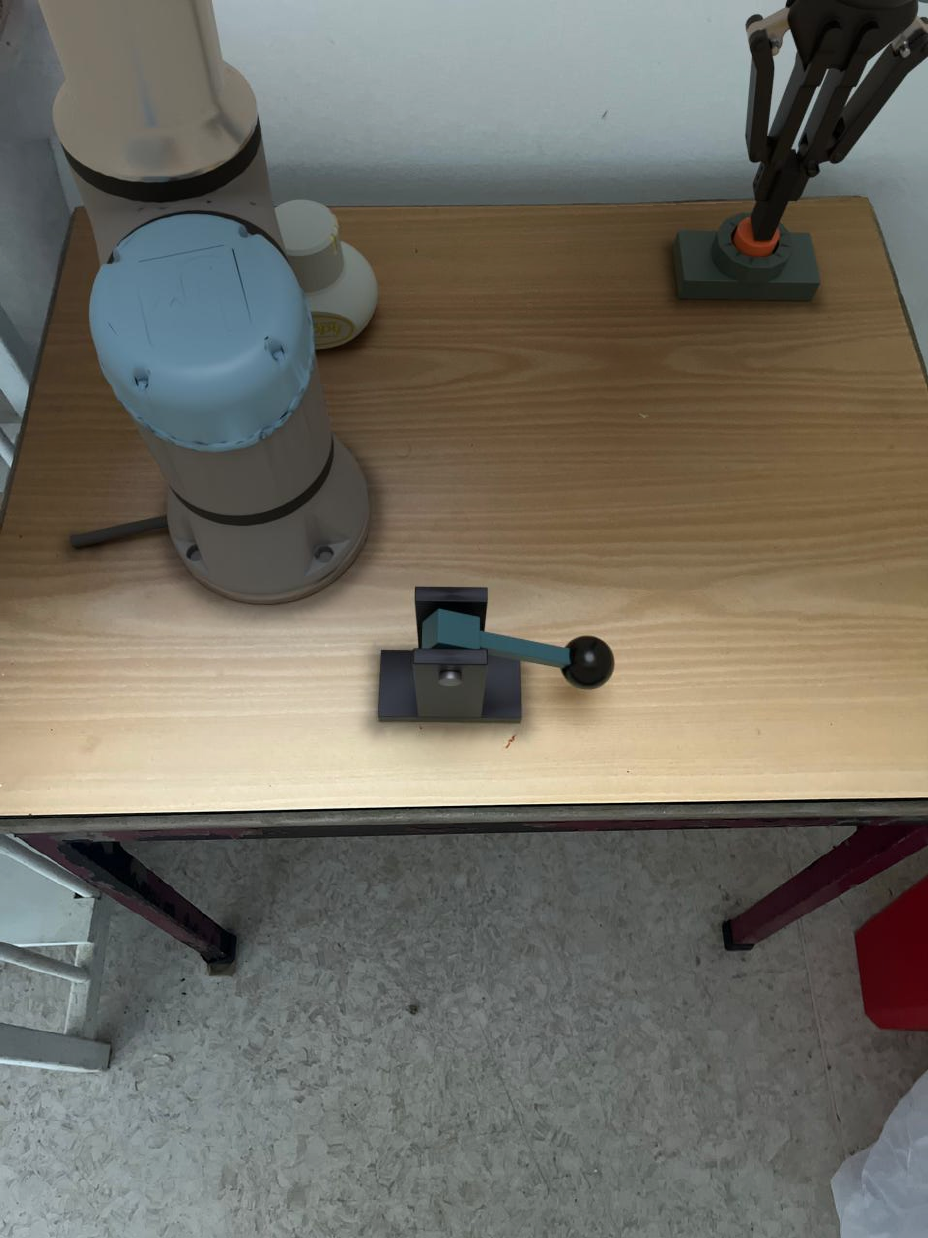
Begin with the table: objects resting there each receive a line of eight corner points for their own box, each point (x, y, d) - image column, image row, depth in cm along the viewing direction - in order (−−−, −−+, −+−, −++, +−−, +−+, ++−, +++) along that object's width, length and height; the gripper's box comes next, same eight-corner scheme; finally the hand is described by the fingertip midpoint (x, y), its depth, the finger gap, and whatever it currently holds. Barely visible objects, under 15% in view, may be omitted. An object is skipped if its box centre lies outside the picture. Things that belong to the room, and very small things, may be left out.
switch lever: (592, 650, 59) (623, 633, 56) (595, 700, 57) (627, 684, 54) (418, 615, 53) (443, 593, 50) (417, 669, 52) (442, 650, 49)
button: (734, 262, 74) (740, 246, 72) (729, 231, 75) (735, 215, 73) (775, 263, 74) (782, 247, 72) (769, 232, 75) (776, 216, 74)
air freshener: (254, 359, 72) (226, 268, 63) (255, 285, 76) (229, 188, 66) (382, 352, 73) (372, 261, 64) (378, 279, 76) (368, 182, 67)
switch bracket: (518, 650, 62) (533, 580, 51) (520, 730, 60) (536, 673, 49) (382, 649, 62) (368, 577, 51) (378, 728, 60) (363, 671, 49)
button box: (678, 300, 76) (690, 266, 72) (671, 246, 78) (682, 210, 75) (811, 303, 76) (830, 268, 72) (800, 249, 79) (817, 213, 75)
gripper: (794, -58, 49) (689, 260, 71) (1016, -54, 49) (844, 262, 71) (775, -132, 52) (680, 195, 74) (985, -127, 52) (829, 198, 74)
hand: (760, 228), depth 73 cm, fingers closed
